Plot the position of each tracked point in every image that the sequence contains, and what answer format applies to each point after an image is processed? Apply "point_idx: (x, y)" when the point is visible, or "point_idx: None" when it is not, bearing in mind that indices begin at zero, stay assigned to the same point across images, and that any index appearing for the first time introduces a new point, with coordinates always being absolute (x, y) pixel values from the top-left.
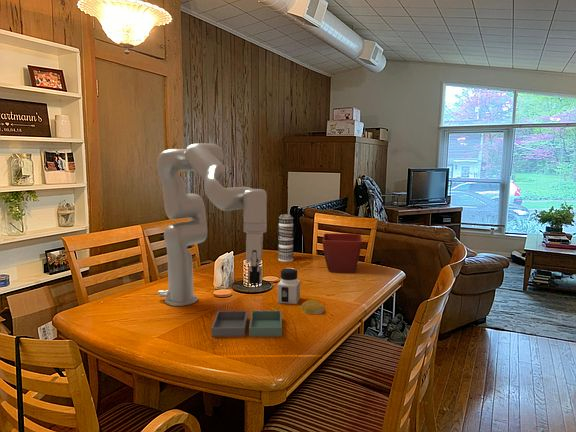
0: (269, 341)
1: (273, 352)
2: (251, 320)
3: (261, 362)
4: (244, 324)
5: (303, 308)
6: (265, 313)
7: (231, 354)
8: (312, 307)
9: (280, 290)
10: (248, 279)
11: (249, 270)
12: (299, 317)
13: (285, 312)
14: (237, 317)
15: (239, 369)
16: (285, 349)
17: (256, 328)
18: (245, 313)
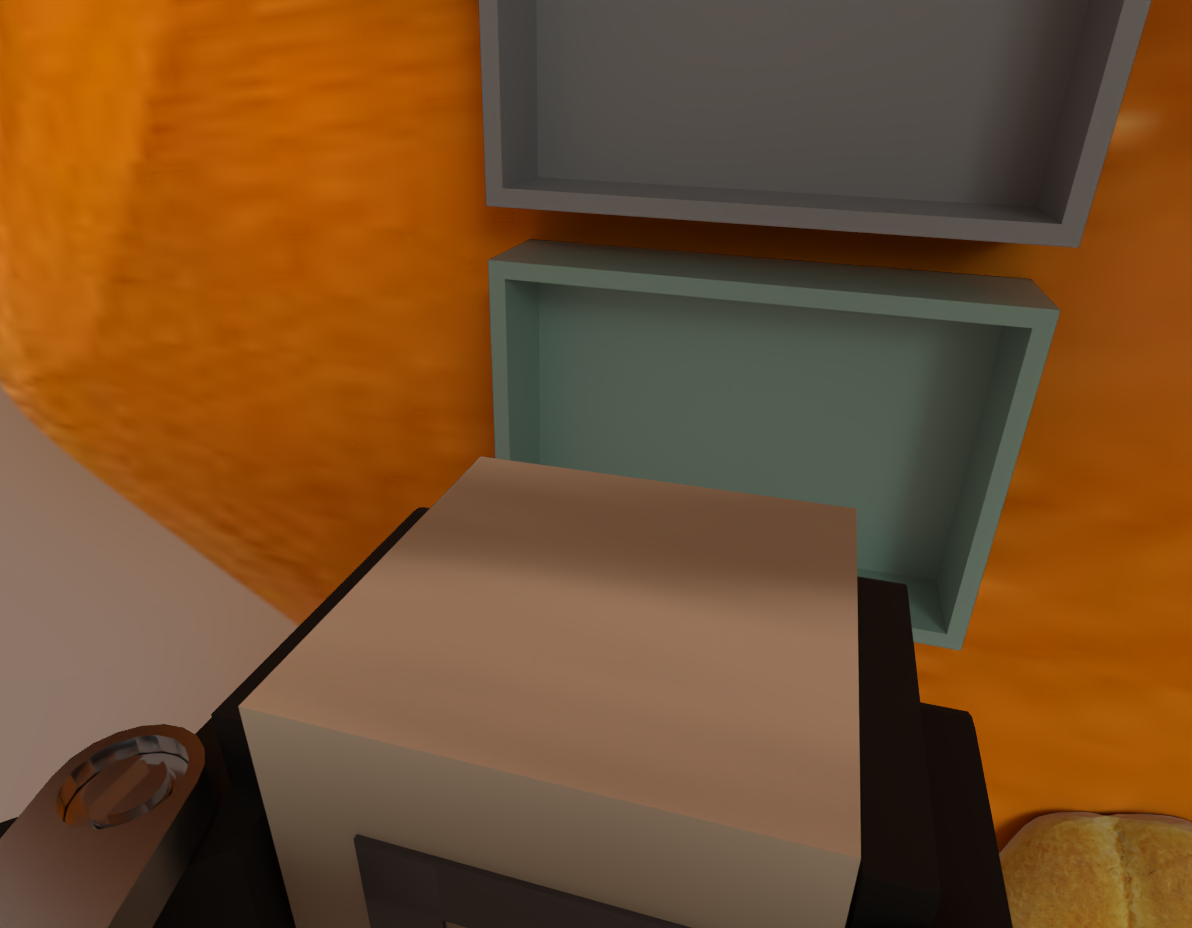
0: (473, 414)
1: (299, 421)
2: (700, 294)
3: (153, 324)
4: (582, 206)
5: (1135, 843)
6: (982, 471)
7: (217, 75)
8: (1032, 915)
9: None
10: (436, 518)
11: (261, 741)
12: (979, 743)
13: (1179, 666)
14: (1074, 80)
15: (32, 161)
16: (352, 507)
17: (494, 337)
18: (1057, 211)
